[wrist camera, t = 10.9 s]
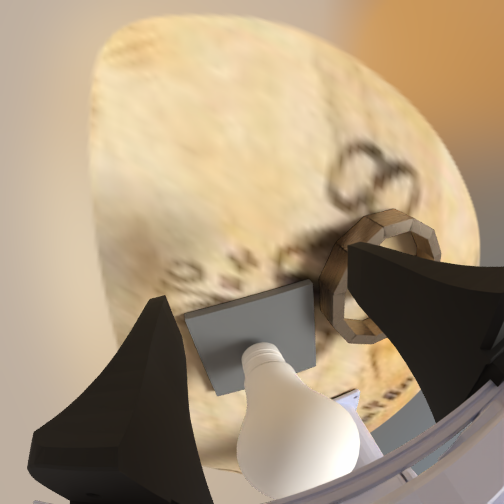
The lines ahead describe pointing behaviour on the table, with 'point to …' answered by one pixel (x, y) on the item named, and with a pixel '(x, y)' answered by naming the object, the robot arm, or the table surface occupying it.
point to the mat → (254, 332)
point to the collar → (335, 269)
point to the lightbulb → (290, 429)
